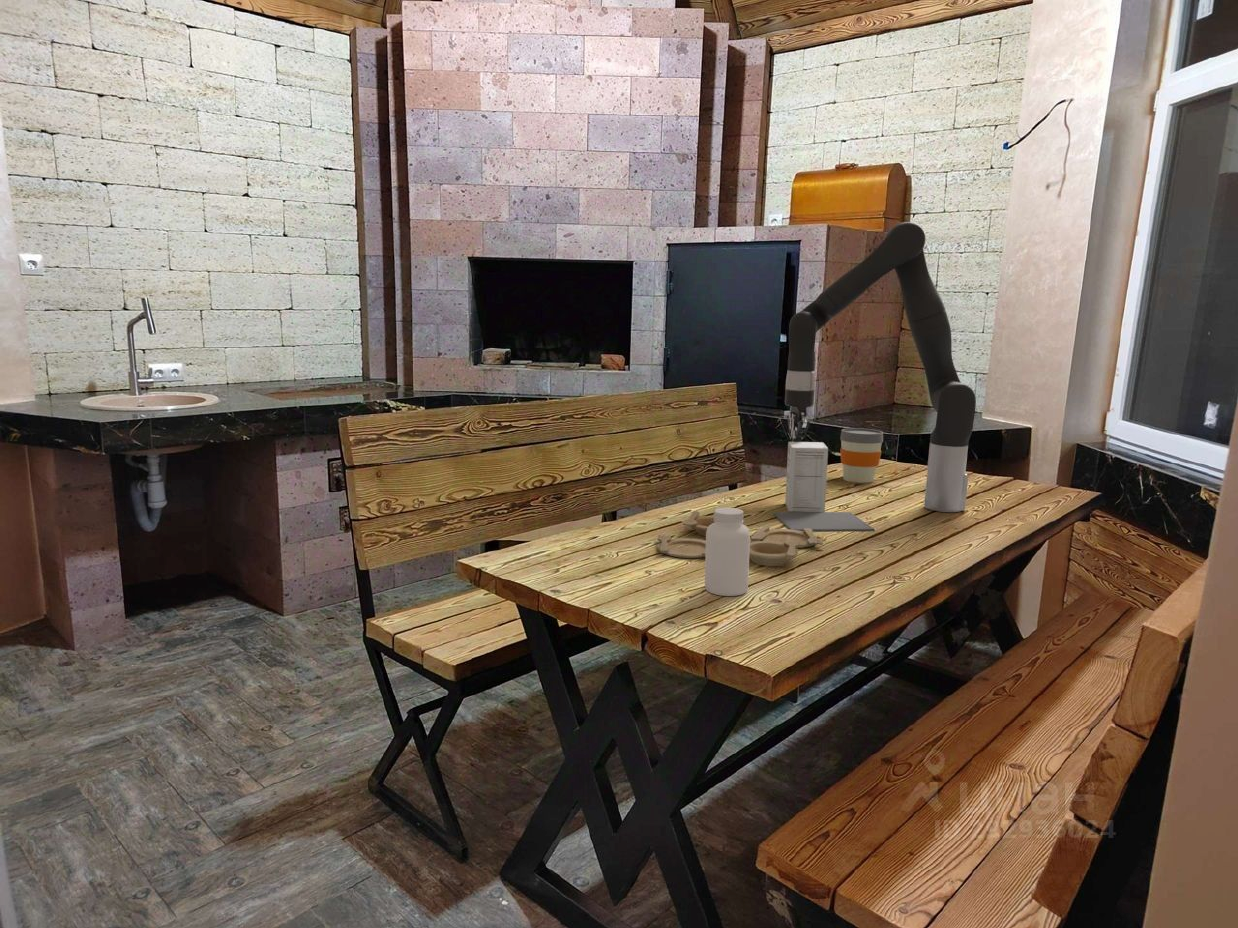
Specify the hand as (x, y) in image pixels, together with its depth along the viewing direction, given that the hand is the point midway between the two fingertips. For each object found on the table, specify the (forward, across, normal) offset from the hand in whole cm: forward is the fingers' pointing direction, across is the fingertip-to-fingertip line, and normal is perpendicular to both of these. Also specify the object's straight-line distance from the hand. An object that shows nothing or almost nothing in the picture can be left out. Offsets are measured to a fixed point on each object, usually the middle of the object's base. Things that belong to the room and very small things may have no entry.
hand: (796, 452), depth 220 cm
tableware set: (+14, -43, +25) cm, 52 cm away
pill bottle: (+13, -71, +34) cm, 80 cm away
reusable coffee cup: (+13, +25, -28) cm, 40 cm away
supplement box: (+13, -10, 0) cm, 16 cm away
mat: (+13, -24, 0) cm, 27 cm away
